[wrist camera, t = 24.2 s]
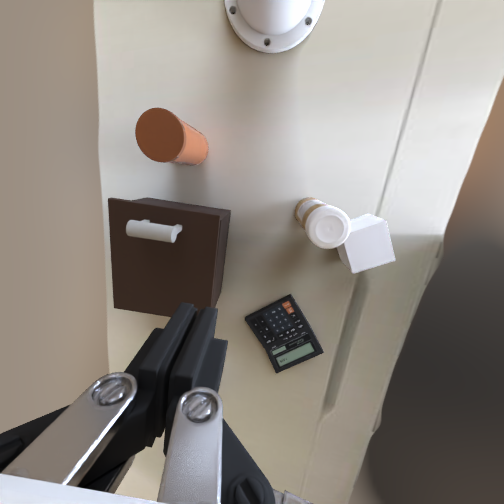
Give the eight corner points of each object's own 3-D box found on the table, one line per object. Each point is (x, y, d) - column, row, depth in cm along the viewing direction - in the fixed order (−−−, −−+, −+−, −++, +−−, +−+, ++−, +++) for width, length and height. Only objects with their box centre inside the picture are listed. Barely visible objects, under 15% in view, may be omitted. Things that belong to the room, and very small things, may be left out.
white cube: (368, 213, 39) (386, 220, 33) (377, 248, 40) (396, 260, 34) (330, 226, 40) (341, 235, 34) (340, 260, 41) (352, 274, 35)
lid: (111, 197, 30) (84, 203, 26) (221, 214, 30) (212, 223, 26) (116, 305, 36) (95, 325, 31) (210, 319, 36) (202, 342, 31)
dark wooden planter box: (146, 197, 40) (114, 203, 31) (230, 210, 40) (221, 219, 31) (145, 280, 44) (117, 305, 36) (221, 292, 44) (210, 319, 36)
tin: (175, 125, 36) (135, 104, 25) (210, 131, 36) (185, 111, 25) (173, 163, 38) (134, 158, 27) (207, 168, 38) (182, 165, 27)
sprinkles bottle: (299, 230, 40) (315, 256, 27) (289, 203, 39) (301, 217, 26) (327, 219, 39) (357, 240, 26) (318, 191, 38) (344, 200, 25)
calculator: (290, 293, 43) (292, 302, 41) (320, 343, 46) (324, 354, 43) (245, 316, 45) (243, 326, 42) (276, 363, 48) (277, 375, 45)
